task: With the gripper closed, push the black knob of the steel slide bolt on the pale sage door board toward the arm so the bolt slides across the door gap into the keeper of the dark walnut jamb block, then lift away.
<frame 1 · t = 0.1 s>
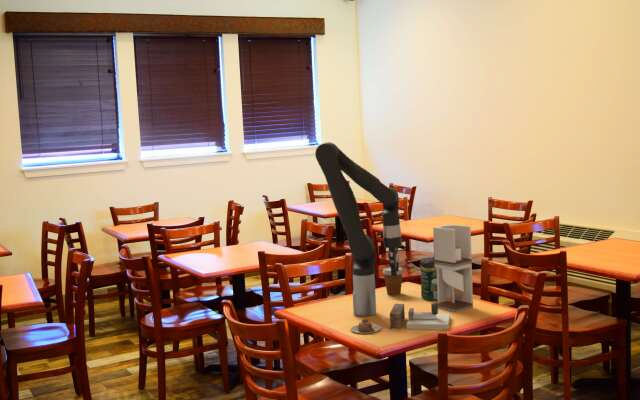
hand: (395, 273, 326), 17 cm above the table, tool pointing down, fingers open, 8 cm apart
pastry: (365, 331, 306), on the table
coffee jar: (431, 299, 350), on the table
display case: (454, 308, 333), on the table
jamb: (397, 323, 313), on the table
door board: (428, 323, 310), on the table
bolt: (424, 310, 310), point 5 cm above the table, slide at 0.0 cm
disposable coffee cup: (394, 294, 363), on the table
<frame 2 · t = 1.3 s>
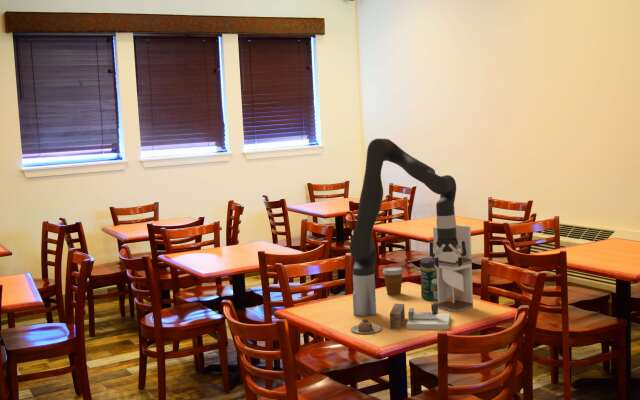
hand: (448, 266, 307), 23 cm above the table, tool pointing down, fingers open, 8 cm apart
nothing on the table moved.
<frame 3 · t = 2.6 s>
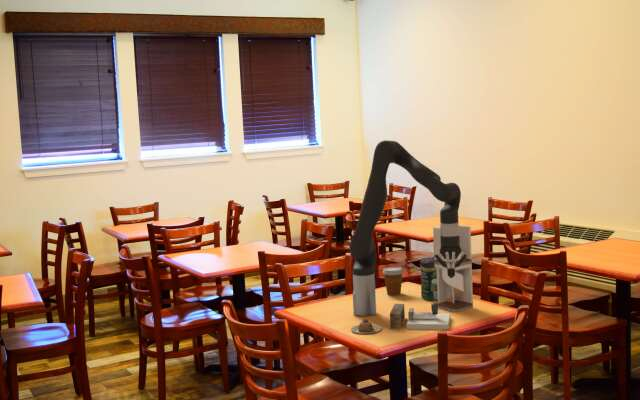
hand: (451, 277, 306), 19 cm above the table, tool pointing down, fingers closed
nothing on the table moved.
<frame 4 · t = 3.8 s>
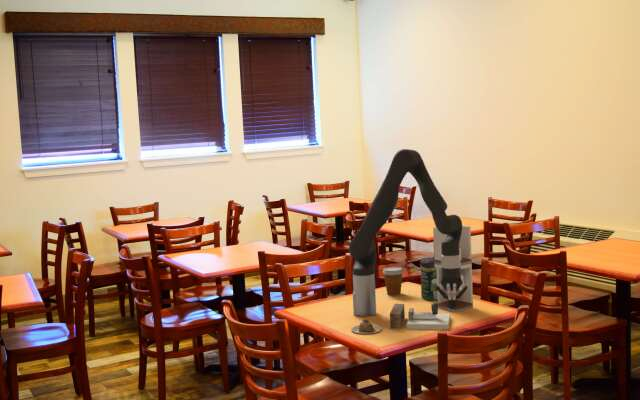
hand: (452, 308, 308), 6 cm above the table, tool pointing down, fingers closed
nothing on the table moved.
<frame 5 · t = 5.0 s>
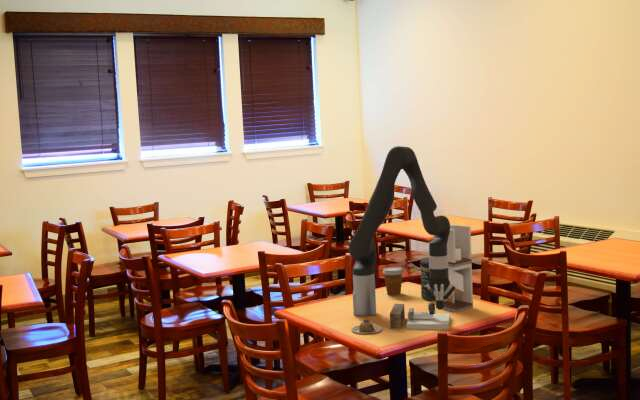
hand: (440, 309, 309), 6 cm above the table, tool pointing down, fingers closed
bolt: (421, 310, 310), point 5 cm above the table, slide at 1.2 cm, touching gripper
everything else where it was.
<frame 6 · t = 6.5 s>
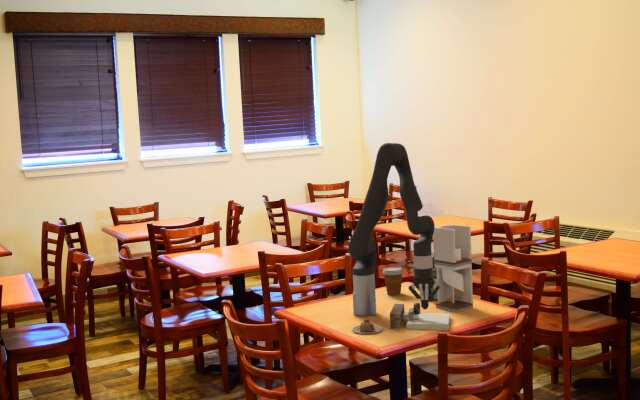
hand: (425, 308, 310), 6 cm above the table, tool pointing down, fingers closed
bolt: (406, 310, 312), point 5 cm above the table, slide at 7.0 cm, touching gripper
everything else where it was.
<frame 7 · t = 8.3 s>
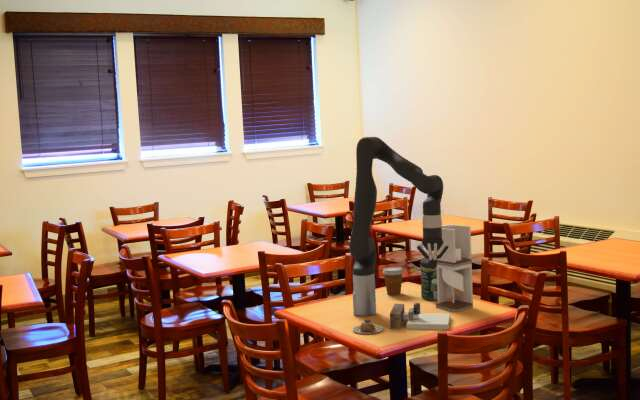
hand: (433, 268, 309), 22 cm above the table, tool pointing down, fingers closed
bolt: (406, 310, 312), point 5 cm above the table, slide at 7.0 cm
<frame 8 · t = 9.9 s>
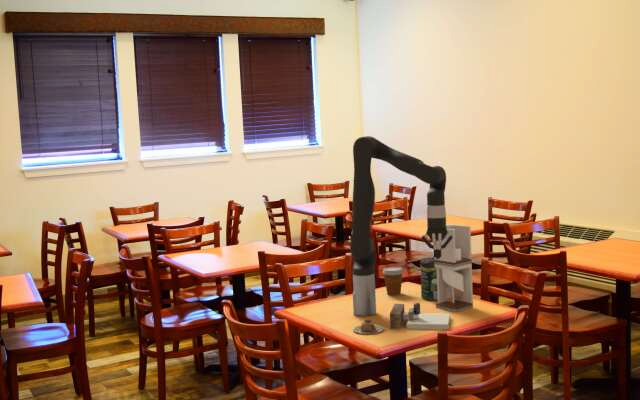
hand: (437, 258, 313), 25 cm above the table, tool pointing down, fingers closed
at the end: bolt slide at 7.0 cm; the gripper is holding nothing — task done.
